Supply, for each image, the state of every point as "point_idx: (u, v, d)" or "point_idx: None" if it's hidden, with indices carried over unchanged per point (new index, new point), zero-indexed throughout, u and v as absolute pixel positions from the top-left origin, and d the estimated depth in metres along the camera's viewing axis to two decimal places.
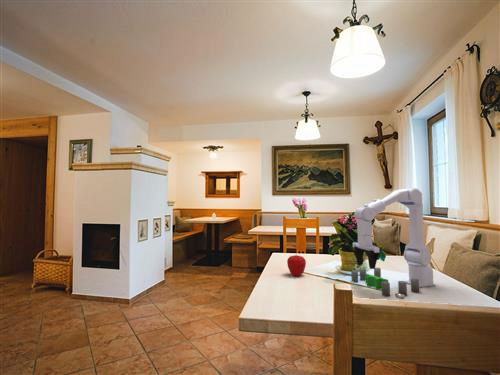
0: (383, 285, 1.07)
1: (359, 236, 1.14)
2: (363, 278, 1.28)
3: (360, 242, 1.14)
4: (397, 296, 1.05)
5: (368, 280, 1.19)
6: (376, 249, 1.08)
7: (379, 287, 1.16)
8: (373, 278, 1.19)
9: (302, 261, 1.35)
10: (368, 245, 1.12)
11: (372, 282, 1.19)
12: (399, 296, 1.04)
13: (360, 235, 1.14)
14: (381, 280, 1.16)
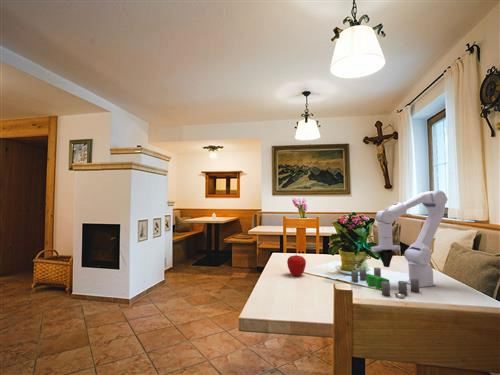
0: (383, 285, 1.07)
1: None
2: (363, 278, 1.28)
3: None
4: (397, 296, 1.05)
5: (369, 280, 1.20)
6: (371, 248, 1.20)
7: (380, 287, 1.16)
8: (374, 278, 1.19)
9: (302, 261, 1.35)
10: (379, 245, 1.21)
11: (373, 282, 1.19)
12: (399, 296, 1.04)
13: None
14: (382, 280, 1.16)
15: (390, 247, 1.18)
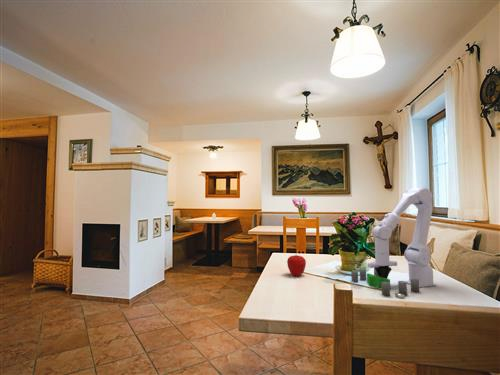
0: (383, 285, 1.07)
1: None
2: (363, 278, 1.28)
3: None
4: (397, 296, 1.05)
5: (370, 280, 1.20)
6: (368, 264, 1.19)
7: (381, 287, 1.16)
8: (375, 278, 1.19)
9: (302, 261, 1.35)
10: (376, 261, 1.20)
11: (374, 282, 1.19)
12: (399, 296, 1.04)
13: None
14: (383, 280, 1.16)
15: (387, 263, 1.17)
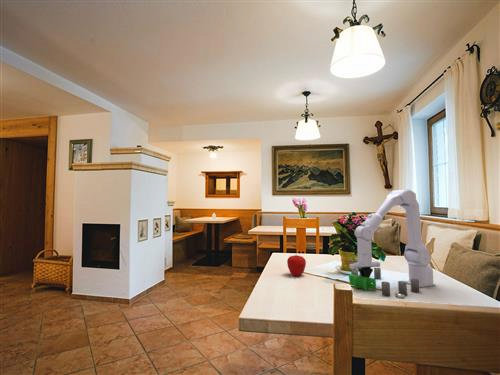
0: (383, 285, 1.07)
1: None
2: None
3: None
4: (397, 296, 1.05)
5: (355, 282, 1.16)
6: (350, 265, 1.16)
7: (367, 287, 1.14)
8: (359, 279, 1.16)
9: (302, 261, 1.35)
10: (358, 262, 1.18)
11: (359, 283, 1.16)
12: (399, 296, 1.04)
13: None
14: (368, 280, 1.14)
15: (369, 264, 1.15)
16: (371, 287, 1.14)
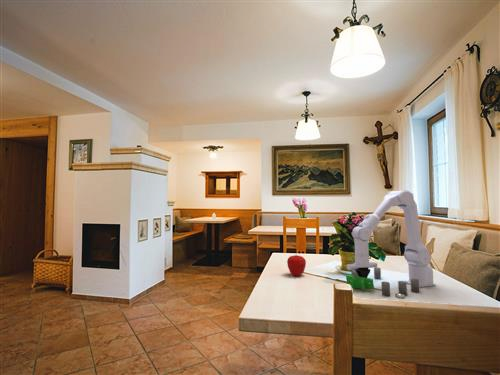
0: (383, 285, 1.07)
1: None
2: None
3: None
4: (397, 296, 1.05)
5: (353, 283, 1.15)
6: (347, 266, 1.16)
7: (365, 287, 1.13)
8: (357, 280, 1.15)
9: (302, 261, 1.35)
10: (355, 263, 1.17)
11: (356, 284, 1.15)
12: (399, 296, 1.04)
13: None
14: (366, 280, 1.13)
15: (366, 265, 1.14)
16: (369, 287, 1.13)
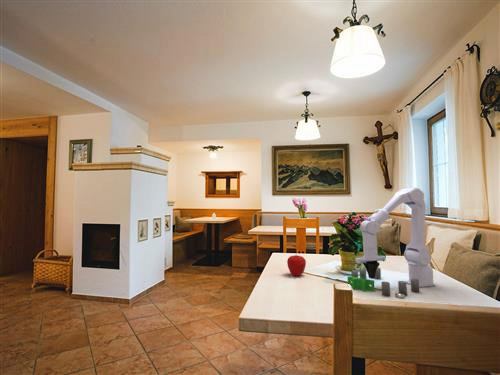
0: (383, 285, 1.07)
1: None
2: (363, 278, 1.28)
3: None
4: (397, 296, 1.05)
5: (353, 283, 1.16)
6: (356, 259, 1.17)
7: (365, 289, 1.14)
8: (358, 280, 1.16)
9: (302, 261, 1.35)
10: (364, 256, 1.18)
11: (357, 284, 1.16)
12: (399, 296, 1.04)
13: None
14: (367, 281, 1.14)
15: (375, 258, 1.16)
16: (369, 289, 1.14)
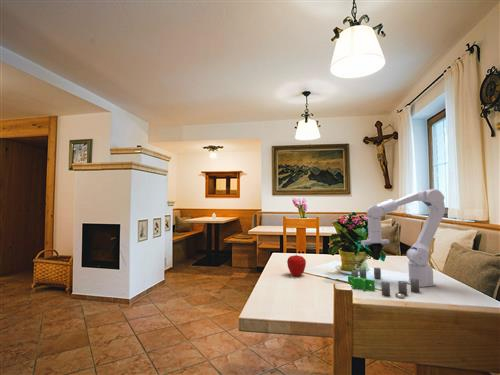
0: (383, 285, 1.07)
1: None
2: None
3: None
4: (397, 296, 1.05)
5: (354, 282, 1.16)
6: (361, 242, 1.25)
7: (366, 289, 1.14)
8: (358, 280, 1.16)
9: (302, 261, 1.35)
10: (369, 239, 1.27)
11: (357, 284, 1.16)
12: (399, 296, 1.04)
13: None
14: (367, 281, 1.15)
15: (379, 241, 1.24)
16: (370, 289, 1.14)
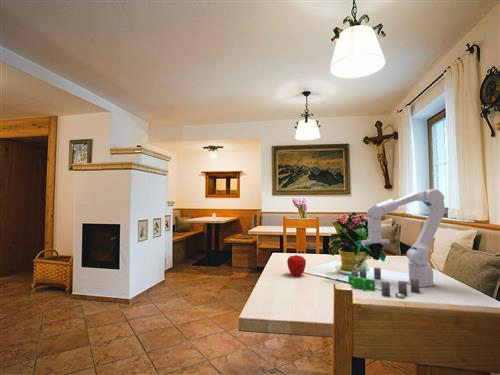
0: (383, 285, 1.07)
1: None
2: None
3: None
4: (397, 296, 1.05)
5: (354, 282, 1.16)
6: (361, 242, 1.25)
7: (366, 288, 1.14)
8: (359, 280, 1.17)
9: (302, 261, 1.35)
10: (369, 239, 1.27)
11: (358, 284, 1.17)
12: (399, 296, 1.04)
13: None
14: (368, 281, 1.15)
15: (379, 241, 1.24)
16: (370, 288, 1.14)
